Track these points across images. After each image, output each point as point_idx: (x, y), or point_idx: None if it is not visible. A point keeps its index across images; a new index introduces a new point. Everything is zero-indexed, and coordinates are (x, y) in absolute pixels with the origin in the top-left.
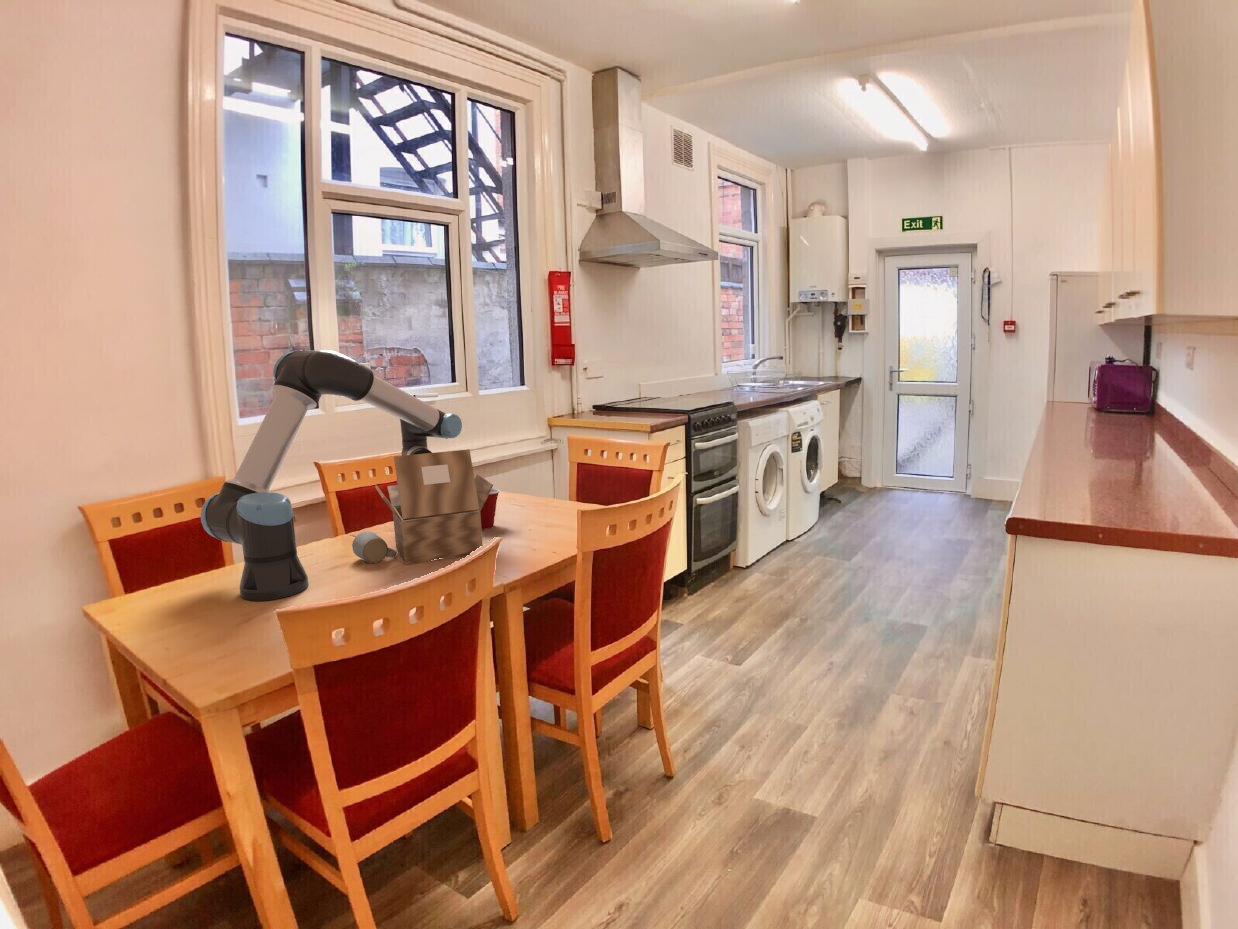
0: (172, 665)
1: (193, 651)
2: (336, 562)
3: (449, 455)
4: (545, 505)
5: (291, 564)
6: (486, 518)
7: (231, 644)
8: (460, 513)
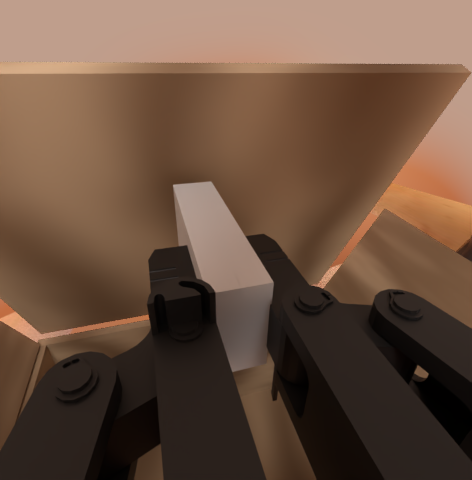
0: (409, 191)
1: (415, 200)
2: None
3: (53, 103)
4: None
5: (468, 246)
6: None
7: (391, 203)
8: (122, 328)
